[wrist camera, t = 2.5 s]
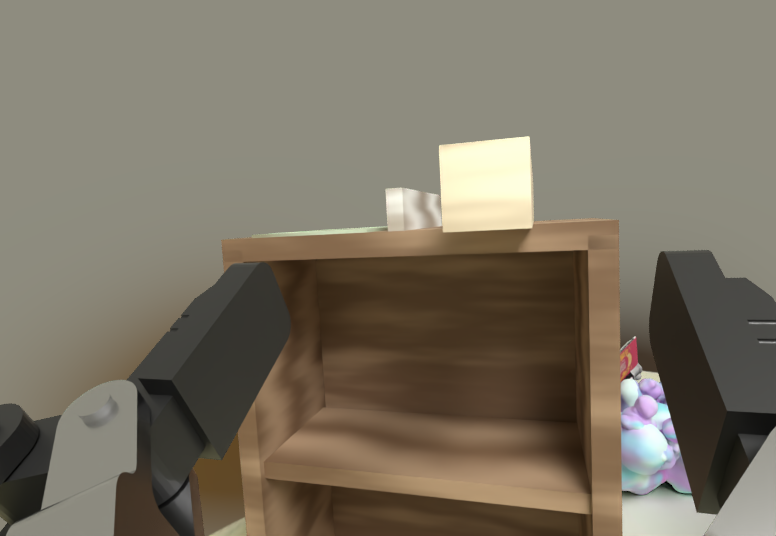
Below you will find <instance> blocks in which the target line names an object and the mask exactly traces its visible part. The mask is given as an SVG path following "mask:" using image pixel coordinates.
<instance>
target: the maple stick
mask: <svg viewBox="0 0 776 536" xmlns="http://www.w3.org/2000/svg"><path fill="white" fill-rule="evenodd" d="M439 155H440V156H439V157H440V180H441V201H442V224H443V232H464V231H485V230H506V229H527V228H532V226H533V223H534V204H533V175H532V163H531V150H530V137H529V136H528V137H520V138H519V137H518V138H508V139H498V140H488V141H478V142H469V143H459V144H449V145H439Z"/></svg>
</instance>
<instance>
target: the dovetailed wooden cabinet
mask: <svg viewBox="0 0 776 536" xmlns="http://www.w3.org/2000/svg"><path fill="white" fill-rule="evenodd" d="M386 205H387V222H388V226H387V227H371V228H370V227H368V228H350V229H333V230H332V229H331V230H314V231H302V232H287V233H273V234H260V235H252V237H250V238H237V239H226V240H221V241H222V253H223V264H224V273H225V271H226V270H227V269H228V268H229V267H230V266H231V265H232V264H234V263H259V262H264V263H267V264H268V265H269V266H270V267H271V269H272V271H273V273H274V276H275V278H276V281H277V283H278V286H279V288H280V291H281V293H282V296H283V299H284V301H285V304H286V306H287V309H288V311H289V314H290V320H291V329H290V335H289V338H288V340H287V342H286V344H285V346H284V348H283V350H282V351H281V353H280V355H279V357H278V359H277V360H276V362H275V364H274V366H273V368H272V370H271V371H270V373H269V375H268V377H267V379H266V381H265V382H264V384H263V386H262V388H261V390H260V391H259V393H258V395H257V397H256V399H255V401H254V402H253V404H252V406H251V408H250V410H249V412H248V413H247V415H246V417H245V419H244V421H243V422H242V424H241V426H240V428H239V430H238V438H239V450H240V461H241V473H242V484H243V496H244V507H245V520H246V531H247V536H622V464H621V378H620V292H619V220H611V219H596V218H588V219H570V220H549V221H534V223H533V226H532V228H527V229H506V230H485V231H464V232H443V226H442V225H441V201H440V195H436V194H431V193H426V192H421V191H416V190H411V189H406V188H391V189H386Z"/></svg>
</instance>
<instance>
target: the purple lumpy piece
mask: <svg viewBox="0 0 776 536" xmlns="http://www.w3.org/2000/svg"><path fill="white" fill-rule="evenodd" d="M641 372H642V367H641V366H640V365H639V364H638V358H637V343H636V337H634V338H633V339H632V340H630V341H628V342H627V343H626V344H625V345H624V346H623V348H622V349H620V378H621V464H622V491H630V492H633V493H635V494H639V495H645V494H647V493H649V492H651V491H652V490H654V489H655V488H657V487H658V486H659V485H660V484H662V483H664V482H665V481H667V482H668V483H670V484H671V485H672V486H673V488H674V489H675V490H676V491H678V492H681V493H692V492H691V489H690V485H689V482H688V478H687V474H686V471H685V467H684V464H683V460H682V456H681V453H680V449H679V446H678V442H677V438H676V435H675V431H674V428H673V424H672V420H671V417H670V413H669V410H668V406H667V402H666V399H665V395H664V392H663V388H662V384H661V382H659V383H658V382H657V381H655V380H653V379H642V380H641V381H640V383H637V382H636V381H635V380H639V379H641V374H640V373H641Z"/></svg>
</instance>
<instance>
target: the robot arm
mask: <svg viewBox="0 0 776 536" xmlns="http://www.w3.org/2000/svg"><path fill="white" fill-rule="evenodd" d="M181 316H182V317H181V318H178V320H177V321H176V322H175V323H174V324H173V326H172V327H171V328H170V332H167V333H166V334H165V335H164V336H163V337H162V339H161V340H160V341H159V342H158V343H157V344H156V346H155V347H154V348H153V349H152V350H151V352H150V353H149V354H148V355H147V356H146V358H145V359H144V360H143V361H142V362H141V364H140V365H139V366H138V367H137V368H136V370H135V371H134V372H133V373H132V374H131V376H130V377H129V378H128V379H127V380H115V381H110V382H106V383H104V384H101V385H99V386H96V387H94V388H93V389H91V390H89V391H87V392H86V393H84V394H83V395H81V396H80V397H79V398H78V399H76V400H75V401H74V402H73V403H72V404H71V405H70V406H69V407H68V408H67V409H66V410H65V412H64V413H63V415H59V416H54V417H50V418H46V419H41V420H37V421H33V420H32V419H31V418H30V417H29V416H28V415H27V414H26V413H25V411H24V410H23V409H22V408H21V407H20V406H19V405H16V404H3V405H0V517H1V518H3V519H4V520H5V521H6V522H7V524H6V525H5V527H4V528H3V529H2V530H1V532H0V536H204V528H203V520H202V511H201V502H200V495H199V485H198V478H197V475H196V473H195V471H194V470H193V466H194V465H195V463H196V461H197V460H198V458H206V459H216V460H222V459H223V457H224V455H225V453H226V452H227V450H228V448H229V446H230V444H231V443H232V441H233V439H234V437H235V435H236V433H237V432H238V430H239V428H240V426H241V424H242V422H243V421H244V419H245V417H246V415H247V413H248V412H249V410H250V408H251V406H252V404H253V402H254V401H255V399H256V397H257V395H258V393H259V391H260V390H261V388H262V386H263V384H264V382H265V381H266V379H267V377H268V375H269V373H270V371H271V370H272V368H273V366H274V364H275V362H276V360H277V359H278V357H279V355H280V353H281V351H282V350H283V348H284V346H285V344H286V342H287V340H288V338H289V335H290V329H291V320H290V314H289V311H288V309H287V306H286V304H285V301H284V299H283V296H282V293H281V291H280V288H279V286H278V283H277V281H276V278H275V276H274V273H273V271H272V269H271V267H270V266H269V265H268V264H267V263H264V262H259V263H234V264H232V265H231V266H230V267H229V268H228V269H227V270H226V271H225V273H224V274H223V275H222V276H221V278H220V279H219V280H218V281H217V282H216V284H215V285H213V286H212V287H210V288H209V289H208V290H206V291H205V292H204V293H202V294H201V295H200V296H198V297H197V298H195V299H194V301H193V302H192V303H191V304H190V305H189V306H188V308H187V309H186V310H185V311H184V312H183V314H182V315H181ZM649 333H650V343H651V348H652V352H653V356H654V359H655V362H656V366H657V370H658V374H659V377H660V381H661V384H662V388H663V392H664V395H665V399H666V402H667V406H668V410H669V413H670V417H671V420H672V424H673V428H674V431H675V435H676V438H677V442H678V446H679V449H680V453H681V456H682V460H683V464H684V467H685V471H686V474H687V478H688V482H689V485H690V489H691V492H692V496H693V500H694V503H695V507H696V510H697V512H699V513H708V514H717V516H716V517H715V519H714V521H713V522H712V524H711V525H710V527H709V528H708V530H707V531H706V533H705V534H704V536H776V302H775V301H774V299H773V298H772V297H771V296H770V295H769V294H767V293H766V292H765V291H763V290H762V289H760V288H759V287H758V286H756V285H755V284H753V283H752V282H751V281H749V280H748V279H747V278H725V277H724V275H723V273H722V271H721V269H720V268H719V265H718V263H717V262H716V260H715V258H714V256H713V254H712V253H711V252H710V251H709V250H698V251H697V250H694V251H663V252H661V253H660V254H659V257H658V261H657V267H656V274H655V282H654V289H653V296H652V303H651V311H650V318H649Z"/></svg>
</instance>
